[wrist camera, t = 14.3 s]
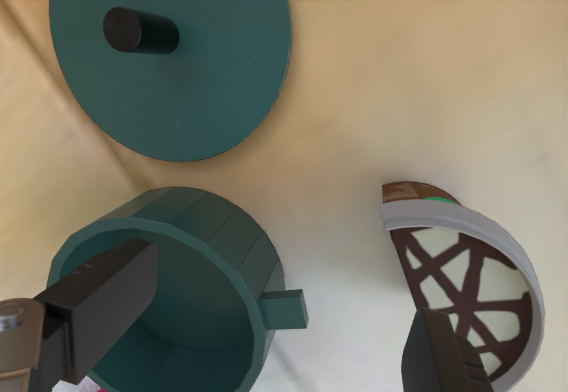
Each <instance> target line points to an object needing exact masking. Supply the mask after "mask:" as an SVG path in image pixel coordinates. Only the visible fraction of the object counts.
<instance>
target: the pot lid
mask: <svg viewBox="0 0 568 392" xmlns="http://www.w3.org/2000/svg"><path fill="white" fill-rule="evenodd" d="M49 18H50V30H51V35H52V41H53V46H54V50H55V53H56V56H57V60H58V63H59V66H60V68H61V71H62V73H63V76H64V78H65V80H66V82H67V84H68V86H69V88H70V90H71V91H72V93H73V95H74V96H75V98H76V99H77V101H78V102H79V104H80V105H81V107H82V108H83V109H84V111H85V112H86V113H87V114H88V116H89V117H90V118H91V119H92V120H93V121H94V122H95V123H96V124H97V125H98V126H99V127H100V128H101V129H102V130H103V131H104V132H105V133H107V134H108V135H109V136H111V137H112V138H113V139H114V140H116V141H117V142H119V143H121V144H122V145H124V146H125V147H127V148H129V149H131V150H133V151H135V152H138V153H140V154H142V155H145V156H149V157H152V158H155V159H160V160H165V161H176V162H187V161H198V160H202V159H206V158H210V157H213V156H216V155H218V154H221V153H223V152H225V151H227V150H229V149H230V148H232V147H234V146H236V145H237V144H239V143H240V142H241V141H243V140H244V139H245V138H247V137H248V136H249V135H250V134H251V133H252V132H253V131H254V130H255V129H256V128H257V127H258V126H259V125H260V124H261V123H262V122H263V120H264V119H265V117H266V116H267V115H268V113H269V112H270V110H271V109H272V107H273V105H274V103H275V101H276V100H277V98H278V96H279V93H280V91H281V88H282V86H283V83H284V80H285V77H286V73H287V69H288V65H289V60H290V52H291V43H292V23H291V15H290V6H289V1H288V0H49Z"/></svg>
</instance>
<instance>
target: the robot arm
mask: <svg viewBox="0 0 568 392" xmlns="http://www.w3.org/2000/svg"><path fill="white" fill-rule="evenodd" d="M157 278H158V245H157V243H156V242H152V241H148V240H144V239H139V238H135V237H132V238H130V239H128V240H127V241H125V242H124V243H123V244H121V245H120V246H119V247H117V248H116V249H113V248H111V249H109V250H106V251H103V252H101V253H98V254H95V255H94V256H92V257H91V258H89V259H88V260H87V261H85V262H84V263H82V266H80V265H79V266H78V267H77V268H75V269H74V270H72V272H71V273H68V274H67V275H65V276H64V277H62V278H61V279H60V280H58V281H57V282H55V283H54V284H52V285H51V286H50V287H48V288H47V289H45V290H44V291H43V292H41V293H40V294H38V295H37V296H35V297H34V298H33V299H29V298H14V299H8V300H4V301H0V392H52V388H53V387H54V386H55V385H56V384H57V383H58V382H59V381H60V380H62V381H65V382H68V383H72V384H75V385H78V384H79V383H80V382H81V381H82V379H83V378H84V377H85V376H86V375H87V374H88V373H89V372H90V371H91V369H92V368H93V367H94V366H95V365H96V364H97V363H98V362H99V360H100V359H101V358H102V357H103V356H104V355H105V354H106V353H107V352H108V350H109V349H110V348H111V347H112V346H113V345H114V344H115V343H116V342H117V340H118V339H119V338H120V337H121V336H122V335H123V334H124V333H125V331H126V330H127V329H128V328H129V327H130V326H131V325H132V324H133V323H134V321H135V320H136V319H137V318H138V317H139V316H140V315H141V314H142V313H143V311H144V310H145V309H146V308H147V307H148V306H149V305H150V303H151V302H152V300H153V298H154V296H155V293H156V289H157ZM401 372H402V381H403V390H404V392H494V390H493V388H492V385H491V384H489V381H490V380H489V378H488V375H487V372H486V370H484V365H483V362H482V360H481V357H480V355H479V352H478V351H477V349H476V348H475V347H474V346H473V345H472V344H471V342H470V341H469V340H468V339H467V338H466V337H465V336H462V335H458V334H455V333H454V330H453V327H452V324H451V321H450V318H449V315H448V314H447V313H445V312H441V311H436V310H432V309H428V308H424V307H419V308H418V309H417V311H416V314H415V317H414V320H413V323H412V326H411V329H410V332H409V335H408V338H407V341H406V344H405V347H404V351H403V356H402V364H401Z"/></svg>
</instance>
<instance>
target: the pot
mask: <svg viewBox="0 0 568 392" xmlns="http://www.w3.org/2000/svg"><path fill="white" fill-rule="evenodd" d="M132 237H135V238H139V239H144V240H148V241H152V242H156V243H157V245H158V278H157V289H156V293H155V296H154V298H153V300H152V302H151V303H150V305H149V306H148V307H147V308H146V309H145V310H144V311H143V313H142V314H141V315H140V316H139V317H138V318H137V319H136V320H135V321H134V323H133V324H132V325H131V326H130V327H129V328H128V329H127V330H126V331H125V333H124V334H123V335H122V336H121V337H120V338H119V339H118V340H117V342H116V343H115V344H114V345H113V346H112V347H111V348H110V349H109V350H108V352H107V353H106V354H105V355H104V356H103V357H102V358H101V359H100V360H99V362H98V363H97V364H96V365H95V366H94V367H93V368H92V369H91V371H90V372H89V373H88V374H87V376H88V377H89V378H90V379H92V380H93V381H94V382H95V383H96V384H97V385H99V386H100V387H101V388H102V389H103V390H105V391H106V392H249V391H250V390H251V388H252V386H253V384H254V383H255V381H256V379H257V378H258V376H259V374H260V372H261V371H262V369H263V366H264V363H265V360H266V357H267V354H268V351H269V348H270V345H271V342H272V339H273V336H274V333H275V330H280V329H304V328H307V324H308V320H309V318H308V314H307V309H306V304H305V299H304V295H303V290H302V289H299V290H285V284H284V276H283V270H282V267H281V263H280V260H279V257H278V255H277V253H276V250H275V248H274V246H273V244H272V243H271V241H270V240H269V238H268V236H267V235H266V234H265V232H264V231H263V230H262V228H261V227H260V226H259V225H258V224H257V223H256V222H255V221H254V220H253V219H252V218H251V217H250V216H249V215H248V214H247V213H245V212H244V211H243V210H242V209H240V208H239V207H238V206H236V205H234V204H233V203H231V202H230V201H228V200H226V199H224V198H222V197H220V196H218V195H215V194H213V193H210V192H207V191H203V190H199V189H194V188H189V187H167V188H161V189H156V190H151V191H148V192H145V193H144V194H142V195H140V196H138V197H136V198H135V199H133V200H131V201H129V202H128V203H126V204H124V205H122V206H121V207H119V208H117V209H115V210H114V211H112V212H110V213H108V214H107V215H105V216H103V217H102V218H100V219H98V220H96V221H95V222H93V223H91V224H89V225H88V226H86V227H84V228H83V229H81V230H79V231H77V232H76V233H74V234H72V235H71V236H70V237H69V238H68V239H67V240H66V242H65V243H64V244H63V246H62V247H61V249H60V250H59V251H58V253H57V254H56V255H55V257H54V258H53V260H52V263H51V268H50V272H49V277H48V281H47V285H46V289H47V288H48V287H50V286H51V285H52V284H54V283H55V282H57V281H58V280H60V279H61V278H62V277H64V276H65V275H67V274H68V273H71V272H72V270H74V269H75V268H77V267H78V266H79V265H80V266H82V263H84V262H85V261H87V260H88V259H89V258H91V257H92V256H94V255H95V254H98V253H101V252H103V251H106V250H109V249H111V248H113V249H116V248H117V247H119V246H120V245H121V244H123V243H124V242H125V241H127V240H128V239H130V238H132Z"/></svg>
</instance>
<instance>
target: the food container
mask: <svg viewBox="0 0 568 392" xmlns="http://www.w3.org/2000/svg"><path fill="white" fill-rule="evenodd" d="M382 194H383V204H379V205H380V210H381V216H382V220H383V223H384V230H385V231H387V230H389V231H390V234H391V239H392V241H393V243H394V245H395V248H396V250H397V253H398V256H399V259H400V262H401V265H402V268H403V271H404V274H405V277H406V280H407V283H408V285H409V288H410V291H411V294H412V297H413V300H414V303H415V306H416V309H418V308H419V307H424V308H428V309H432V310H436V311H441V312H445V313H447V314H448V315H449V318H450V321H451V324H452V327H453V330H454V333H455V334H458V335H462V336H465V337H466V338H467V339H468V340H469V341H470V342H471V344H472V345H473V346H474V347H475V348H476V349H477V351H478V352H479V355H480V357H481V360H482V362H483V365H484V370H486V372H487V375H488V378H489V380H490V381H489V384H491V385H492V388H493V390H494V392H507V391H509V390H510V389H511V388H512V387H514V386H515V385H516V384H517V383H518V382H519V381H520V380H521V379H522V378H523V377H524V376H525V374H526V373H527V372H528V370H529V369H530V368H531V366H532V365H533V363H534V361H535V359H536V357H537V355H538V353H539V350H540V346H541V343H542V339H543V331H544V321H545V308H544V301H543V295H542V292H541V289H540V285H539V282H538V279H537V276H536V274H535V271H534V268H533V265H532V263H531V261H530V259H529V258H528V256H527V254H526V253H525V251H524V249H523V248H522V247H521V245H520V244H519V243H518V242H517V241H516V240H515V239H514V238H513V236H512V235H511V234H510V233H509V232H507V231H506V230H505V229H503V228H502V227H501V226H500V225H498V224H497V223H496V222H495V221H493V220H491V219H489V218H487V217H486V216H484V215H482V214H480V213H478V212H476V211H474V210H471V209H468V208H465V207H463V206H462V205H461V204H460V203H459V202H458V201H457V200H456V199H455V198H454V197H452V196H451V195H450V194H448V193H447V192H445V191H443V190H441V189H439V188H437V187H435V186H432V185H429V184H425V183H419V182H407V181H404V182H394V183H389V184H385V185H382Z"/></svg>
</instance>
